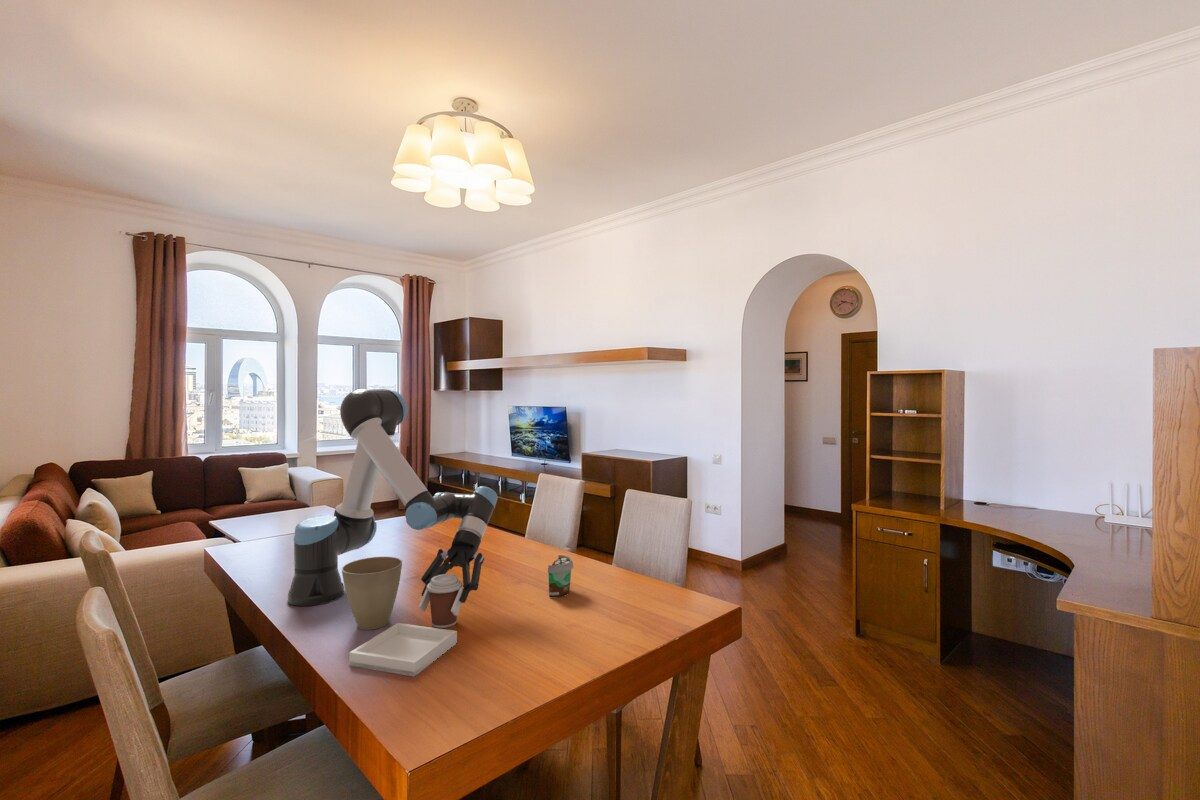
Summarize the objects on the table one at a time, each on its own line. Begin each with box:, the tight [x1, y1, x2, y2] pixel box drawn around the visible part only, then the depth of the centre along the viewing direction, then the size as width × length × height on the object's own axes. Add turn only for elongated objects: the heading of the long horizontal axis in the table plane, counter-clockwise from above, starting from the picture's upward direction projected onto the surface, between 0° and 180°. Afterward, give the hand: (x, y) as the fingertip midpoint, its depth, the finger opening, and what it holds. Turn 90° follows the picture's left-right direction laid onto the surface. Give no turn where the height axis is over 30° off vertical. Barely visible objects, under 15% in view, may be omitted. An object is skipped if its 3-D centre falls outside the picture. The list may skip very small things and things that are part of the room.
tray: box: [348, 622, 458, 677], centre depth 130 cm, size 17×17×3 cm
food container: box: [547, 554, 574, 598], centre depth 171 cm, size 12×6×10 cm, turn 168°
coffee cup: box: [427, 573, 463, 629], centre depth 148 cm, size 9×9×12 cm
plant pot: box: [341, 556, 403, 631], centre depth 147 cm, size 15×15×16 cm
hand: (437, 611), depth 145 cm, fingers closed on coffee cup, 9 cm apart
